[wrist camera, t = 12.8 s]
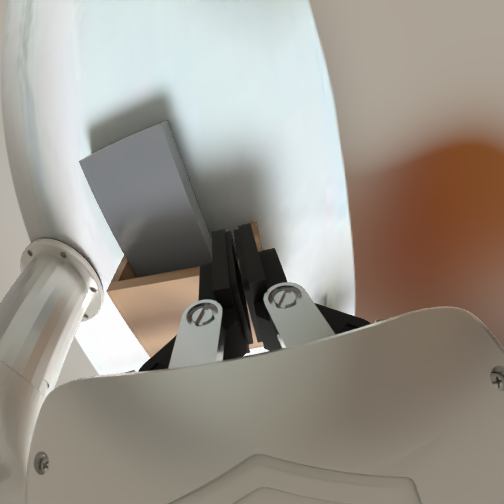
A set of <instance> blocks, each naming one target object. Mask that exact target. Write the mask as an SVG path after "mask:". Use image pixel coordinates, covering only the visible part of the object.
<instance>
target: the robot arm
mask: <svg viewBox="0 0 504 504" xmlns="http://www.w3.org/2000/svg"><path fill="white" fill-rule="evenodd" d="M238 228H239V229H238V230H234V234H235V241H236V247H237V254H238V260H239V264H238V260H237V256H236V252H235V248H234V244H233V240H232V236H231V232H230V231H229V232H225V229H223V230H218V231H214V232H212V262H209V263H205V264H201V265H200V275H199V299H198V301H197V302H195V303H193V304H191V305H190V306H188V307H187V309H186V310H185V311H184V313H183V315H182V318H181V322H180V326H179V329H178V333H177V335H176V336H175V337H174V338H173V339H171V340H170V341H169V342H168V343H167V344H166V345H165V346H164V347H163V348H161V349H160V350H159V351H158V352H157V353H156V354H155V355H154V356H152V357H151V358H150V359H149V360H148V361H147V362H146V363H145V364H144V365H143V366H142V367H141V368H140V370H139V372H135V371H134V370H132V371H129V372H126V373H121V374H110V375H100V376H91V377H85V378H80V379H77V380H73V381H70V382H68V383H65V384H63V385H60V386H59V387H57V388H55V385H56V383H57V380H58V377H59V374H60V371H61V369H62V366H63V363H64V361H65V358H66V355H67V353H68V350H69V348H70V345H71V343H72V341H73V338H74V336H75V333H76V331H77V329H78V327H79V324H80V322H81V321H86V320H89V319H91V318H93V317H94V316H95V315H96V314H97V313H98V311H99V309H100V307H101V305H102V302H103V290H102V286H101V283H100V280H99V278H98V276H97V274H96V272H95V271H94V269H93V268H92V266H91V265H90V264H89V263H88V261H87V260H86V259H85V258H84V257H83V256H82V255H81V254H79V253H78V252H77V251H76V250H75V249H73V248H71V247H70V246H68V245H67V244H65V243H62V242H60V241H58V240H53V239H38V240H35V241H34V242H32V243H31V244H30V245H29V246H28V247H27V248H26V249H25V251H24V252H23V254H22V258H21V274H20V276H19V277H18V279H17V280H16V281H15V283H14V284H13V285H12V287H11V288H10V290H9V291H8V293H7V294H6V295H5V297H4V298H3V300H2V301H1V303H0V504H504V348H503V347H502V346H501V344H500V343H499V342H498V340H497V339H496V338H495V336H494V335H493V334H492V333H491V331H490V330H489V329H488V328H487V327H486V326H485V325H484V324H483V323H482V322H481V321H480V320H479V319H478V318H477V317H476V316H475V315H473V314H472V313H470V312H468V311H467V310H464V309H461V308H456V307H433V308H427V309H421V310H417V311H413V312H408V313H405V314H402V315H399V316H396V317H392V318H387V319H379V320H376V322H375V323H372V324H370V323H369V322H368V321H366V320H364V319H361V318H358V317H355V316H352V315H349V314H346V313H343V312H340V311H337V310H334V309H331V308H328V307H325V306H322V305H319V304H316V303H314V302H313V301H312V299H311V298H310V296H309V295H308V294H307V292H306V291H305V289H304V288H303V287H302V286H300V285H298V284H296V283H291V282H287V280H286V277H285V274H284V271H283V269H282V266H281V263H280V261H279V258H278V255H277V253H276V250H275V248H273V249H268V250H263V251H259V252H258V249H257V245H256V242H255V238H254V234H253V231H252V227H251V224H245V225H241V226H238ZM239 267H240V268H239ZM246 301H247V302H246ZM247 305H248V307H247ZM248 308H249V312H250V316H251V320H252V323H253V327H254V331H255V335H256V338H257V342H258V343H259V342H263V345H264V348H265V349H267V350H269V351H268V352H264V353H259V354H254V355H249V356H244V355H245V354H246V353H250V350H249V344H253V337H252V331H251V325H250V319H249V313H248ZM243 356H244V357H243ZM54 388H55V389H54Z"/></svg>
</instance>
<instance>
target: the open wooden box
mask: <svg viewBox="0 0 504 504" xmlns="http://www.w3.org/2000/svg"><path fill="white" fill-rule="evenodd" d="M248 224H251V227H252V231H253V234H254V238H255V242H256V245H257V249H258V252H259V251H262V248H261V242H260V237H259V232H258V227H257V222H252V223H248ZM237 260H238V259H237ZM238 264H239V260H238ZM239 268H240V267H239ZM199 275H200V266H199V267H194V268H188V269H183V270H178V271H172V272H167V273H161V274H156V275H150V276H145V277H139V278H138V277H137V276H136V274H135V272H134V271H133V269H132V267H131V265H130V264H129V262H128V260H127V258H126V257H125V255H124V257H123V259H122V261H121V263H120V265H119V267H118V269H117V271H116V273H115V275H114V277H113V279H112V281H111V283H110V285H109V287H108V290H107V293H108V295H109V296H110V298H111V300H112V301H113V303H114V304H115V306H116V308H117V309H118V311H119V312H120V314H121V316H122V317H123V319H124V320H125V322H126V323H127V325H128V326H129V328H130V329H131V331H132V332H133V334H134V335H135V337H136V338H137V339H138V341H139V342H140V344H141V345H142V346H143V348H144V349H145V351H146V352H147V353H148V355H149V356H150V357H152V356H154V355H155V354H156V353H157V352H158V351H159V350H160V349H161V348H163V347H164V346H165V345H166V344H167V343H168V342H169V341H170V340H171V339H173V338H174V337H175V336H176V335H177V333H178V329H179V326H180V322H181V318H182V315H183V313H184V311H185V310H186V309H187V307H188V306H190V305H191V304H193V303H195V302H197V301H198V299H199ZM246 302H247V301H246ZM247 307H248V305H247ZM248 313H249V319H250V325H251V331H252V337H253V344H249V349H251V348H258V347H264V345H263V342H259V343H258V342H257V338H256V335H255V331H254V327H253V323H252V320H251V316H250V312H249V308H248Z"/></svg>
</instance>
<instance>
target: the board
mask: <svg viewBox="0 0 504 504" xmlns="http://www.w3.org/2000/svg"><path fill="white" fill-rule="evenodd" d="M79 163H80V165H81V167H82V170H83V172H84V174H85V177H86V179H87V181H88V183H89V186H90V188H91V190H92V192H93V194H94V197H95V199H96V201H97V203H98V205H99V207H100V209H101V211H102V213H103V215H104V217H105V219H106V221H107V223H108V225H109V227H110V229H111V231H112V233H113V235H114V237H115V238H116V240H117V242H118V244H119V246H120V248H121V250H122V251H123V253H124V255H125V257H126V258H127V260H128V262H129V264H130V265H131V267H132V269H133V271H134V272H135V274H136V276H137V277H138V278H139V277H145V276H150V275H156V274H161V273H167V272H172V271H178V270H183V269H188V268H194V267H199V266H200V265H201V264H205V263H209V262H212V239H211V236H210V234H209V231H208V229H207V226H206V224H205V221H204V218H203V216H202V213H201V210H200V208H199V205H198V202H197V200H196V197H195V194H194V192H193V189H192V186H191V184H190V181H189V178H188V175H187V173H186V170H185V167H184V164H183V162H182V159H181V156H180V153H179V150H178V148H177V145H176V142H175V139H174V136H173V133H172V130H171V128H170V125H169V122H168V120H167V121H164V122H161V123H159V124H156V125H154V126H151V127H149V128H146V129H144V130H141V131H139V132H137V133H134V134H132V135H130V136H128V137H125V138H123V139H121V140H119V141H117V142H114V143H112V144H110V145H108V146H106V147H104V148H102V149H100V150H98V151H96V152H94V153H92V154H90V155H89V156H87V157H85V158H84V159H82V160H80V161H79Z"/></svg>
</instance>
